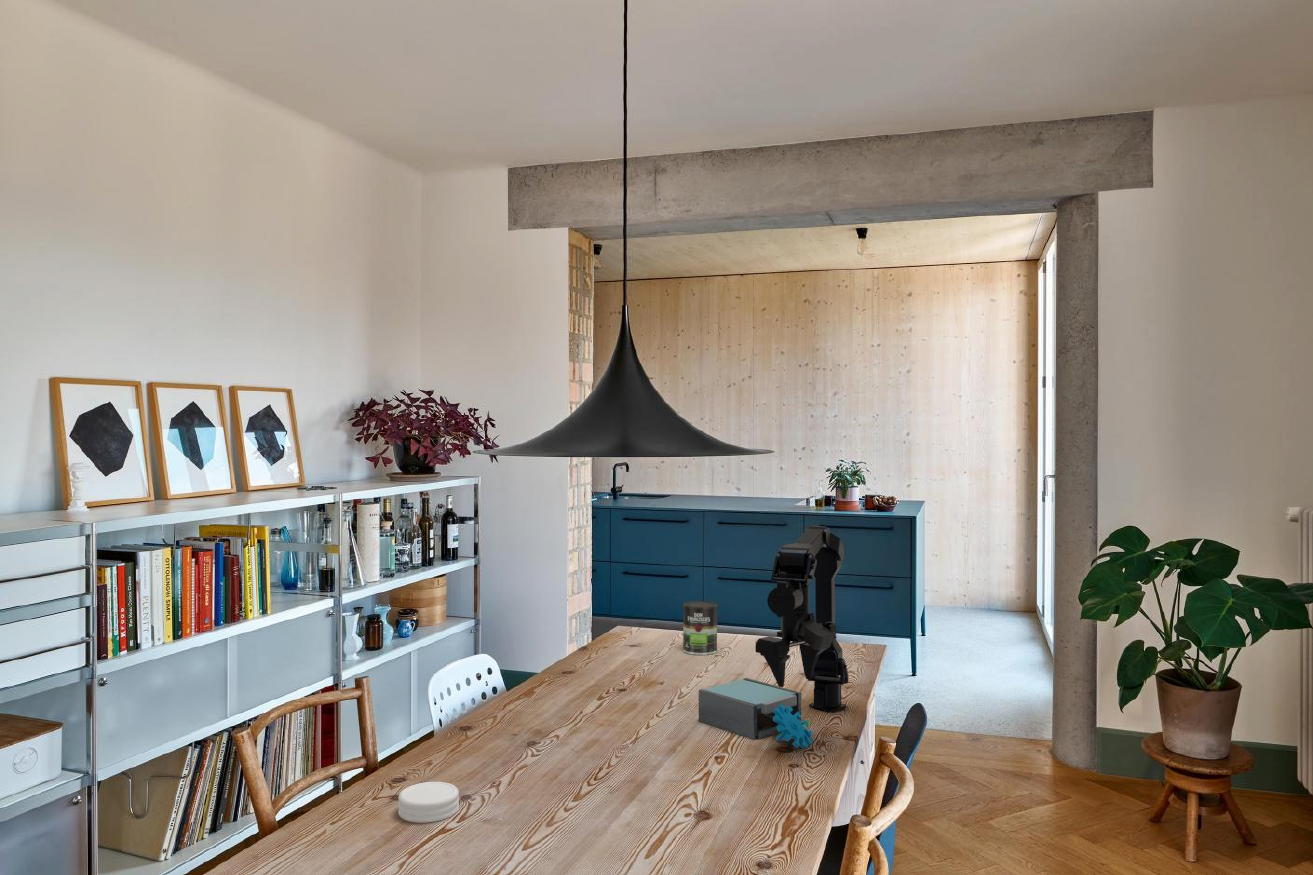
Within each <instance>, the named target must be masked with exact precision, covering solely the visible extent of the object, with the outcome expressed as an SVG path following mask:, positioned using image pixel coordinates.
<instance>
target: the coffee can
mask: <svg viewBox="0 0 1313 875" xmlns="http://www.w3.org/2000/svg"><path fill="white" fill-rule="evenodd" d="M718 606H719V605H718V603H717V602H713V601H706V600H692V601H686V602H683V604H682V608H683V618H682V620H683V621H682V622H683V624H682V625H683V627H682V628H683V629H682V630H683V632H682V633H683V634H682V637H683V639H682V652H683V653H684V654H687V655H692V656H694V655H695V656H710V655H714V654H717V653H718Z"/></svg>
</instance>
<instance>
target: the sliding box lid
mask: <svg viewBox="0 0 1313 875" xmlns="http://www.w3.org/2000/svg"><path fill="white" fill-rule="evenodd" d="M743 679H744V678H743ZM743 679H739V680H735V681H731V682H727V683H723V684H719V685H715V686H711V687H707V688H703V690H706V691H710V692H713V693H716V694H720V695H723V696H727V697H730V698H733V699H737V700H740V701H744V702H747V703H750V704H754V705H757V709H759V708H761V713H764V714H769V713H772V712H773V711H774V710H775V709H776V708H778V706H779V705H784V706H785V708H786V707H787V706H790V707H792V706H795V705H797V696H796V693H793V692H789V691H785V690H781V689H778V688H774V687H770V686H766V685H762V684H758V683H754V682H751V681H747V680H743ZM764 714H763V715H764Z"/></svg>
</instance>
